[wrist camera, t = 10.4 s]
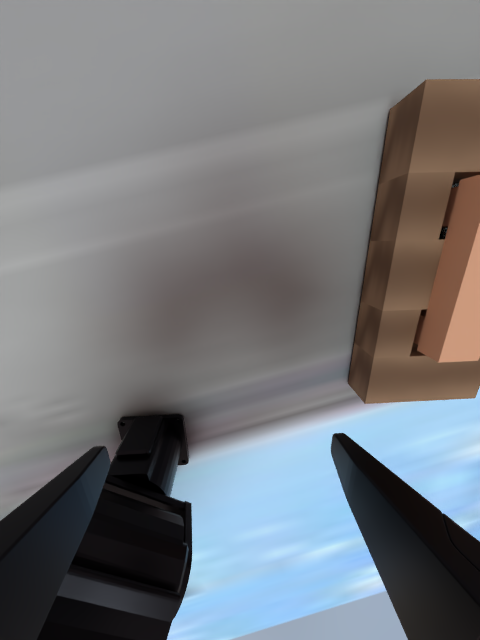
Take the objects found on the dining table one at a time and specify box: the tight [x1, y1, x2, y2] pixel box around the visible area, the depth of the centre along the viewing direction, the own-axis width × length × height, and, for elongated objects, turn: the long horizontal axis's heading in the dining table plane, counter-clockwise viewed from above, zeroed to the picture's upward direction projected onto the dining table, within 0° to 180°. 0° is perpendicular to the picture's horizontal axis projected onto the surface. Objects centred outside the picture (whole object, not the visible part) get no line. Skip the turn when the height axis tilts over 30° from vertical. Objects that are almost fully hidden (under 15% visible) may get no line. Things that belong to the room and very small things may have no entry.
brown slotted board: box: [348, 79, 480, 404], centre depth 18 cm, size 22×10×3 cm, turn 1°
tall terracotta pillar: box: [413, 175, 480, 363], centre depth 17 cm, size 12×3×5 cm, turn 2°
